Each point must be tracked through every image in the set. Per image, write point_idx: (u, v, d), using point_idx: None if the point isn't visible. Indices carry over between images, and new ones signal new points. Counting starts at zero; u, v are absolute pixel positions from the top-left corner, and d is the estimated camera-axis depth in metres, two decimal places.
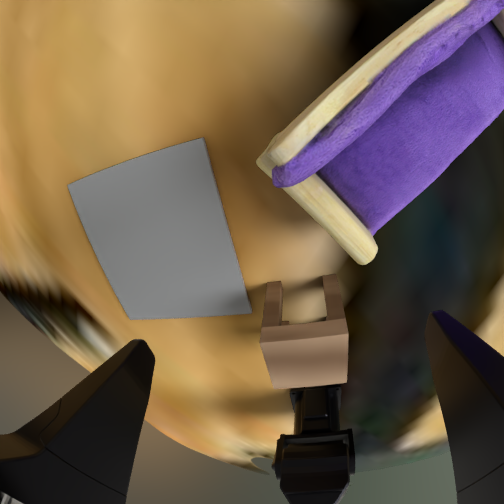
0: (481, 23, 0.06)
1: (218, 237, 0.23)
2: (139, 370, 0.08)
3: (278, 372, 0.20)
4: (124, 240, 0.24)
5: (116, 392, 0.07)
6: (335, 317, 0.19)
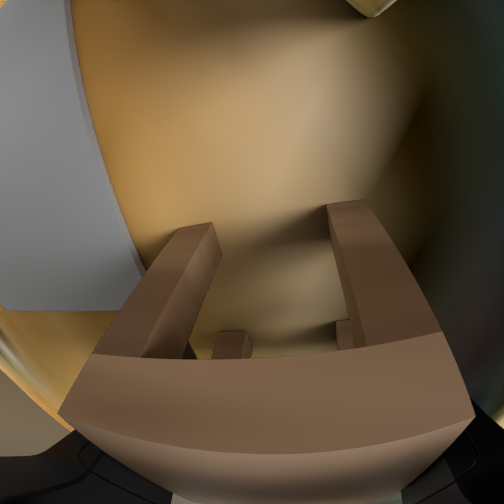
0: None
1: (63, 116, 0.07)
2: None
3: (179, 488, 0.05)
4: None
5: None
6: (397, 330, 0.04)
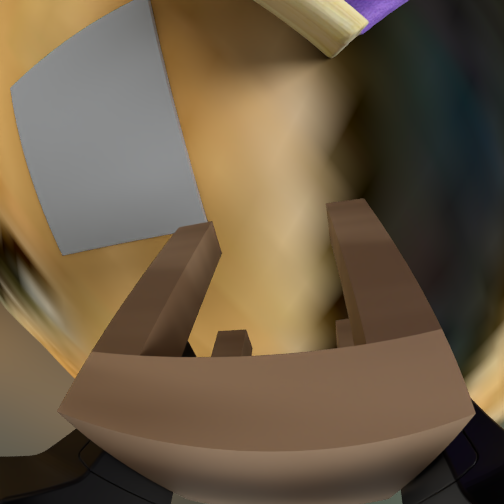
0: None
1: (157, 105, 0.14)
2: None
3: (179, 487, 0.05)
4: (54, 136, 0.15)
5: None
6: (396, 327, 0.04)
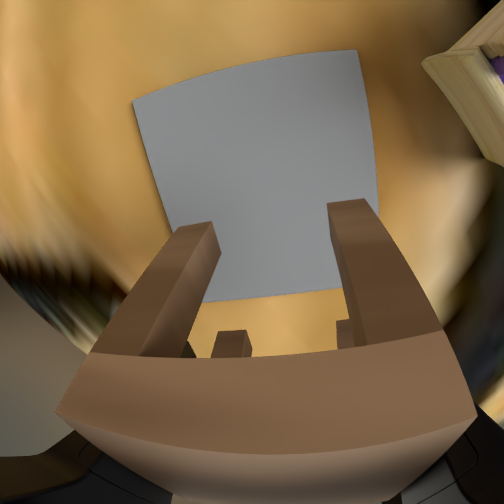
0: None
1: (362, 176, 0.16)
2: None
3: (178, 488, 0.05)
4: (218, 179, 0.17)
5: None
6: (397, 328, 0.04)
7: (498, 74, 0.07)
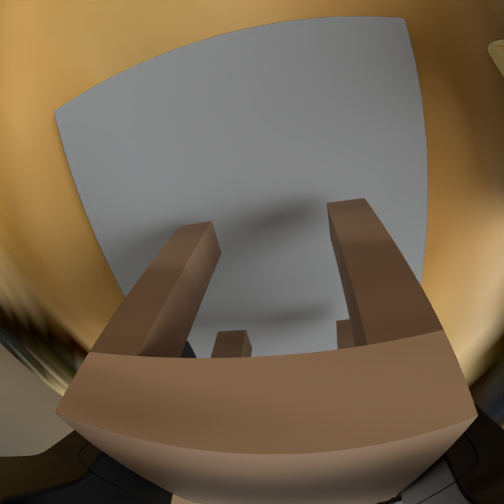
0: None
1: (407, 226, 0.10)
2: None
3: (178, 488, 0.05)
4: None
5: None
6: (397, 328, 0.04)
7: None
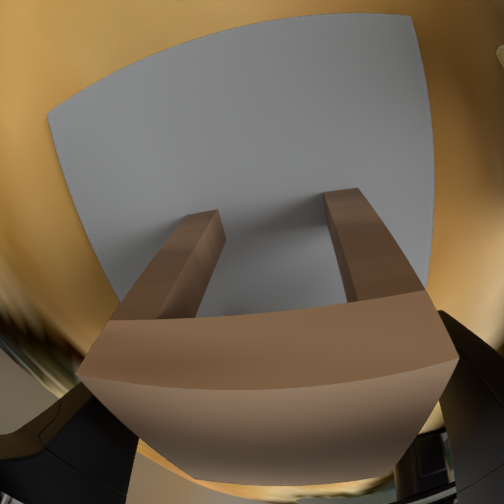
0: None
1: (412, 233, 0.09)
2: None
3: (186, 459, 0.05)
4: None
5: None
6: (385, 288, 0.04)
7: None
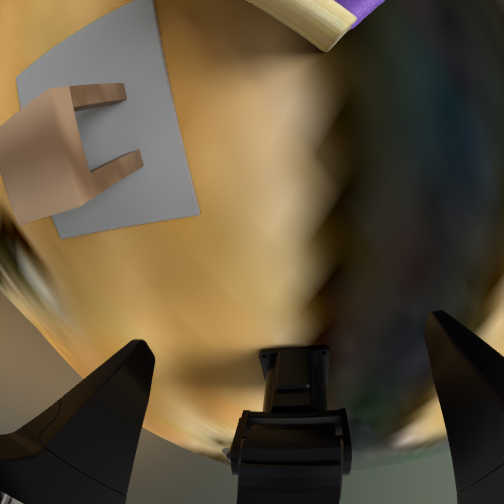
0: None
1: (156, 100, 0.15)
2: (139, 370, 0.08)
3: (11, 186, 0.11)
4: None
5: (116, 392, 0.07)
6: None
7: None
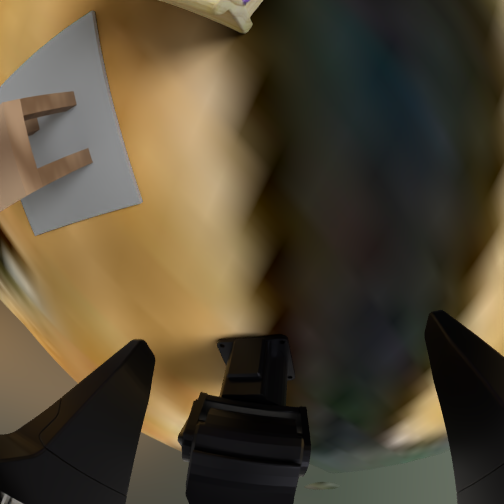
0: None
1: (98, 102, 0.15)
2: (139, 370, 0.08)
3: None
4: None
5: (116, 392, 0.07)
6: None
7: None
